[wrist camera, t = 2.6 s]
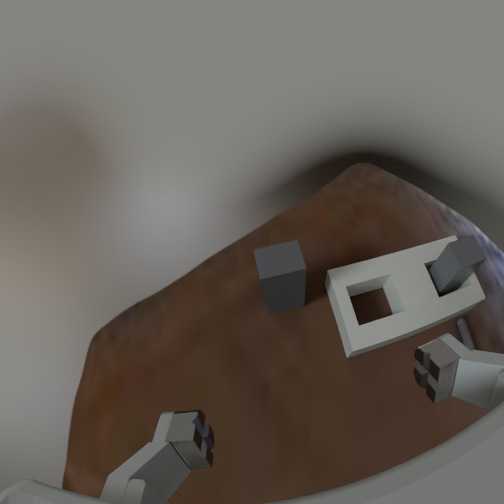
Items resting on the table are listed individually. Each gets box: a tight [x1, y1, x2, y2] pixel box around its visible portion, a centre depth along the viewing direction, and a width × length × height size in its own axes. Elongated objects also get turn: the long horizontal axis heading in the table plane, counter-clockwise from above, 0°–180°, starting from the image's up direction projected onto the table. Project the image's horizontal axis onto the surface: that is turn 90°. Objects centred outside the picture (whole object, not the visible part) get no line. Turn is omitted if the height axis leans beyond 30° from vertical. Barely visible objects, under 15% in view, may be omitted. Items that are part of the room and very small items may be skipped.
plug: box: [254, 240, 306, 315], centre depth 28 cm, size 3×4×9 cm
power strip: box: [325, 235, 486, 358], centre depth 23 cm, size 20×18×8 cm
